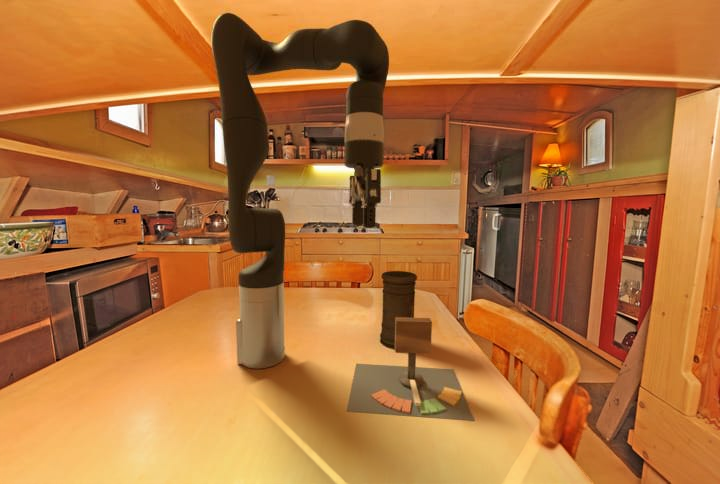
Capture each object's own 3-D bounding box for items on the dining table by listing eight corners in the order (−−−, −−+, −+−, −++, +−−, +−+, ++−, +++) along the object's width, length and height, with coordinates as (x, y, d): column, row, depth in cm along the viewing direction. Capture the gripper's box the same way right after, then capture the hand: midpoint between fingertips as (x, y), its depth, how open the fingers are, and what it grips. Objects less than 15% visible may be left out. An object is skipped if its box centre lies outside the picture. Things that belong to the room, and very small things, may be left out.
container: (386, 356, 69) (388, 279, 67) (374, 339, 78) (375, 271, 76) (422, 351, 71) (425, 277, 69) (406, 336, 80) (408, 269, 78)
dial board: (346, 418, 49) (346, 409, 48) (356, 368, 63) (356, 362, 63) (474, 427, 47) (474, 418, 47) (453, 374, 62) (453, 367, 62)
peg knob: (393, 373, 59) (394, 314, 58) (426, 374, 59) (428, 315, 58) (398, 407, 49) (400, 337, 48) (437, 408, 49) (441, 338, 48)
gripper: (396, 135, 52) (393, 228, 54) (371, 149, 66) (370, 224, 68) (353, 131, 50) (352, 228, 52) (338, 147, 64) (337, 224, 66)
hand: (362, 226), depth 60 cm, fingers open, 8 cm apart
